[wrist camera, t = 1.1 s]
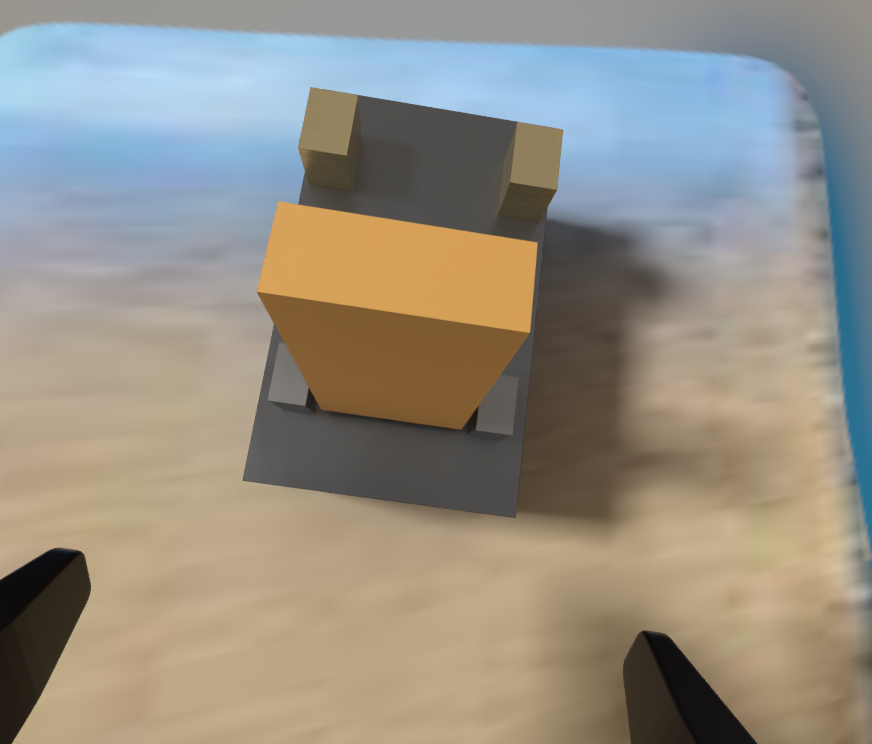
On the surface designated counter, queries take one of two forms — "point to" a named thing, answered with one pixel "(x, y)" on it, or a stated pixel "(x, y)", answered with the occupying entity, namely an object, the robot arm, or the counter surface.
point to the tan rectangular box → (396, 311)
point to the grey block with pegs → (430, 205)
